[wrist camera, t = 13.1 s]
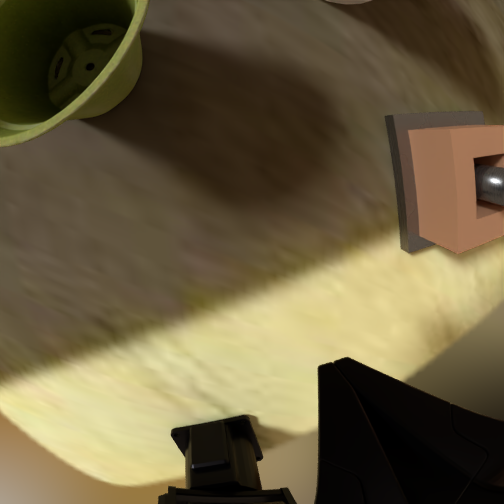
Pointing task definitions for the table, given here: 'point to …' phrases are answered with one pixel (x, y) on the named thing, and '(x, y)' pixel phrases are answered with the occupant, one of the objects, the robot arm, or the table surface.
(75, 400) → the table surface
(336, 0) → the cylinder with rectangular tab
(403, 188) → the grey base with peg
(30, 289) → the table surface
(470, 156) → the collar
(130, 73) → the plant pot
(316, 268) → the table surface
